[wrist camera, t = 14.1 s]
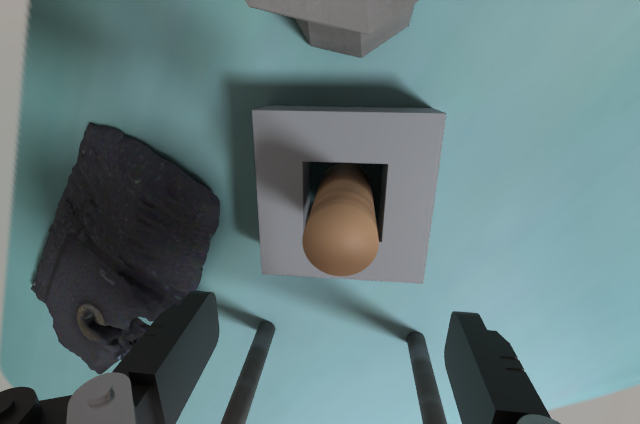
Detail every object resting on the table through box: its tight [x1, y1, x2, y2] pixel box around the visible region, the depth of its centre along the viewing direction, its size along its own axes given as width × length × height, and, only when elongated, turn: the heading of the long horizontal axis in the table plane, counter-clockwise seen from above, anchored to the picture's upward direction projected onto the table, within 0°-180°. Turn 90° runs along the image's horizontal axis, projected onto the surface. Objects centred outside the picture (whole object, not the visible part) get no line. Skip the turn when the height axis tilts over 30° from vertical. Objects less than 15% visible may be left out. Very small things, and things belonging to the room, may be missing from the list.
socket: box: [252, 105, 446, 284], centre depth 25 cm, size 12×12×4 cm
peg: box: [302, 163, 379, 276], centre depth 23 cm, size 4×4×10 cm
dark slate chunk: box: [31, 122, 220, 374], centre depth 30 cm, size 15×22×5 cm
